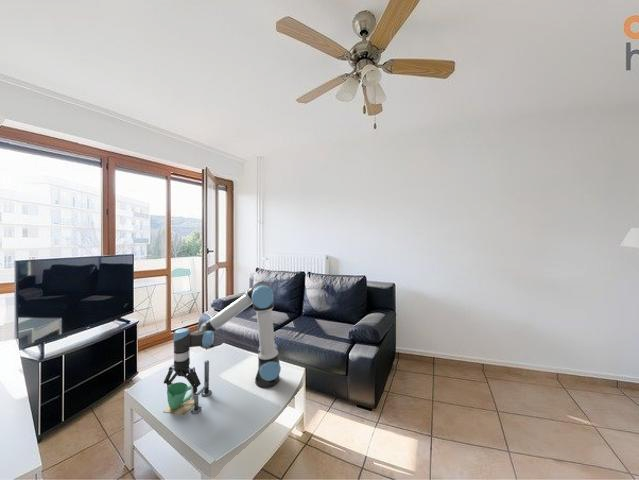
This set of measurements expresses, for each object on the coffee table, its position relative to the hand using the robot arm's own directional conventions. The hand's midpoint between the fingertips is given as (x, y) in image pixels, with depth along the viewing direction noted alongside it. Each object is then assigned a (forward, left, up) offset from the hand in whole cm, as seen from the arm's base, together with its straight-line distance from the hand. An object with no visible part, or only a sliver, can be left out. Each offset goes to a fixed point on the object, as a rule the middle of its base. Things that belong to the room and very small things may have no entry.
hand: (182, 397), depth 140 cm
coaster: (0, 0, -5) cm, 5 cm away
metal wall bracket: (-9, -5, -5) cm, 11 cm away
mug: (+2, 0, -4) cm, 5 cm away
